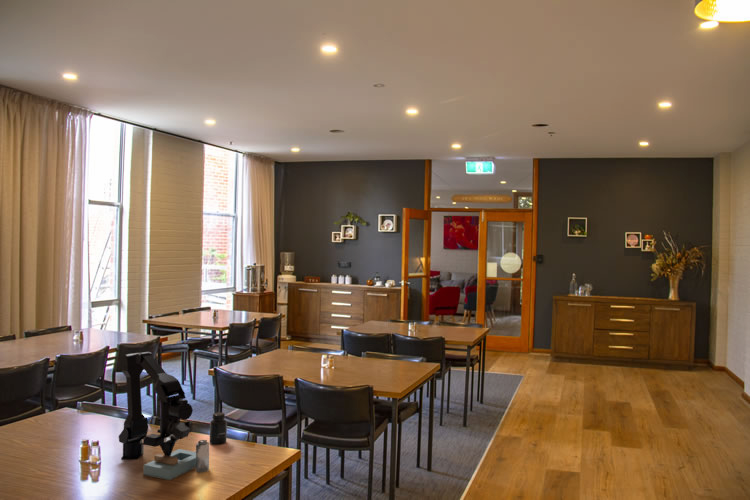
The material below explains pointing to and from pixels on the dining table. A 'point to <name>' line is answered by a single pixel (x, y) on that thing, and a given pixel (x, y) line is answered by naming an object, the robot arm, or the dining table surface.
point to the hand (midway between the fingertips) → (168, 457)
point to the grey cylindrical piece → (202, 456)
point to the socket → (172, 471)
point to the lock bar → (166, 459)
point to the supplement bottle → (218, 429)
